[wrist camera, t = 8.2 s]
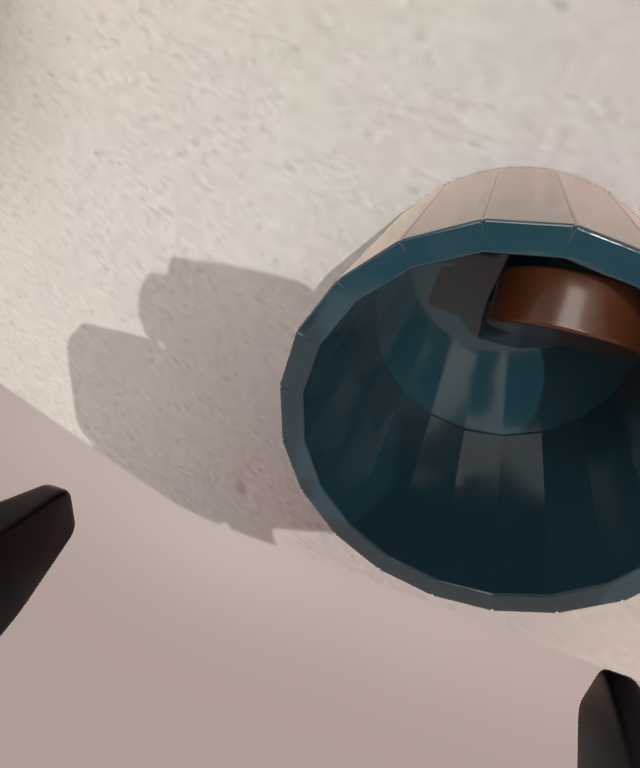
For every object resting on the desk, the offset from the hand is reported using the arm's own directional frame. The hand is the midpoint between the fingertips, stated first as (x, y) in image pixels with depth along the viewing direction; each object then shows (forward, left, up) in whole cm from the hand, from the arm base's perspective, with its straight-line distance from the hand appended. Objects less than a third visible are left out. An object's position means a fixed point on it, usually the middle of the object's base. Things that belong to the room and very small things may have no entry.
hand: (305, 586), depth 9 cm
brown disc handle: (+4, -1, -9) cm, 10 cm away
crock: (+2, -2, -12) cm, 13 cm away
